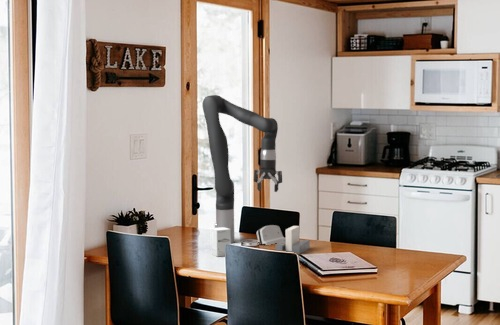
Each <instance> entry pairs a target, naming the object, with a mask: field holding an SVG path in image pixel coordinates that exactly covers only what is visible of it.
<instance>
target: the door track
mask: <svg viewBox="0 0 500 325" xmlns="http://www.w3.org/2000/svg"><path fill="white" fill-rule="evenodd" d="M310 242H311V241H310V240H309V239H301V240H300V242H298V243H296V244H294V245H292V251H286V238H285V240H283V241H281V242H279V243H277V244H274V245H275V246H274V248H275V249H274V251H275V250H278V251H286V252H294V253H297V254H296V255H301V254H303V253H304V252H306V251H308V250H310V249H311V248H310V247H311V246H310Z"/></svg>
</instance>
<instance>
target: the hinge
mask: <svg viewBox="0 0 500 325" xmlns="http://www.w3.org/2000/svg"><path fill="white" fill-rule="evenodd" d="M256 237H257V242H258V241H259V242H260V244H262V245H265V246H266V245H269V246H272V245H271V244H273V245H276V244H275V243H279V242H281V241H283V240H285V239H286V236H285V237H284V235H283V232H282V230H281V228H280V226H279V225H276V224H275V225H274V224H269V225H265V226H262V227H261V228H259V229H258V230H257V231H256Z"/></svg>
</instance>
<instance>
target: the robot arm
mask: <svg viewBox="0 0 500 325" xmlns="http://www.w3.org/2000/svg"><path fill="white" fill-rule="evenodd" d="M202 110H203V114H204V118H205V123H206V130H207V136H208V144H209V152H210V157H211V162H212V166H213V170H214V191H215V192H216V195H215V196H216V197H215V198H216V199H215V220H216V221H215V223H214V228H221V227H225V228H229V229H230V241H231V244H232V243H235V184H234V181H233V180H232V179H231V175H230V171H229V158H230V157H229V146H228V139H227V135H226V133H225V132H224V129H223V127H222V124H221V122H220V116H219V114H223V115H227V116H230V117H232V118H234V119H235V120H237V121H238V122H241V123H242V124H244V125H247V126H249V127H253V128H254V129H256V130H259V131H261V132H263V133H264V134H263V138H261V144H260V145H261V147H260V148H261V149H260V170H259V169H254V171H253V173H254V174H253V182H254V183H256V185H257V187H256V189H257V191H258V192H261V191H262V182H263V180H272V182H273V183H274V192H275V193H277V192H278V191H279V185H280V184H281V183H283V171H282V170H278V171H277V169H276V168H277V167H276V166H277V152H276V144H277V143H276V139H277V136H278V131H279V130H278V129H279V125H278V121H277V119H274V118H273V117H270V118H269V117H268V118H267V117H264V116H261V115H260V114H259V113H258V112H255V111H253V110H249V109H247V108H244V107H241V106H239V105H237V104H234V103H233V102H230V101H229V100H227V99H225V98H224V97H222V96H220V95H219V94H218V95H217V94H212V95H207V96H205V97H204V99H203V101H202ZM259 174H260V175H261V176H259ZM276 175H277V176H276Z"/></svg>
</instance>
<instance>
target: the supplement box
mask: <svg viewBox="0 0 500 325" xmlns="http://www.w3.org/2000/svg"><path fill="white" fill-rule="evenodd" d="M209 229H210V230H209V231H210V233H209V234H210V235H209V236H210V237H209V238H210V255H211V256H214V257H226V256H225V245H226V244H232V243H231V241H230V229H229V228H225V227H221V228H215V227H211V228H209Z"/></svg>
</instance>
